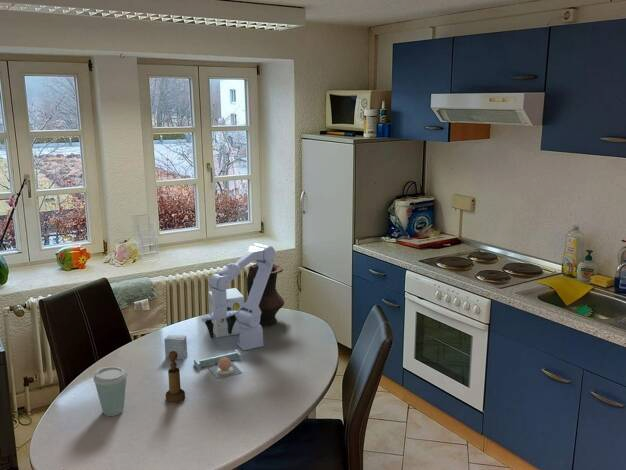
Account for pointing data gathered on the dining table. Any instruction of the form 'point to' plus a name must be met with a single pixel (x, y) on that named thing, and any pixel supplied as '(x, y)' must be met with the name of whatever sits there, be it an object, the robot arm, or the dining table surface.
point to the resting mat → (221, 373)
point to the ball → (224, 363)
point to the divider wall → (216, 359)
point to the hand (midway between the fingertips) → (220, 335)
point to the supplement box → (233, 303)
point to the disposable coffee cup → (111, 389)
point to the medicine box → (176, 345)
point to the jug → (267, 295)
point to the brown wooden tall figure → (174, 382)
